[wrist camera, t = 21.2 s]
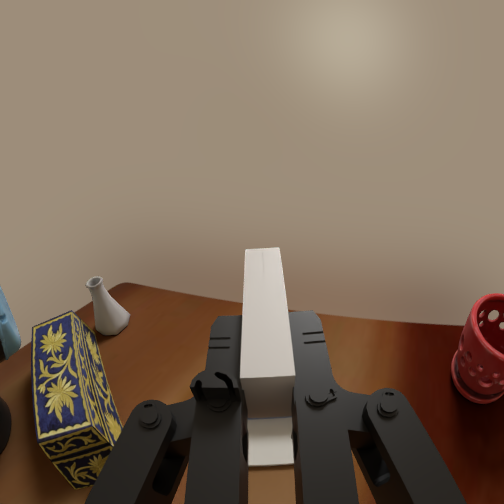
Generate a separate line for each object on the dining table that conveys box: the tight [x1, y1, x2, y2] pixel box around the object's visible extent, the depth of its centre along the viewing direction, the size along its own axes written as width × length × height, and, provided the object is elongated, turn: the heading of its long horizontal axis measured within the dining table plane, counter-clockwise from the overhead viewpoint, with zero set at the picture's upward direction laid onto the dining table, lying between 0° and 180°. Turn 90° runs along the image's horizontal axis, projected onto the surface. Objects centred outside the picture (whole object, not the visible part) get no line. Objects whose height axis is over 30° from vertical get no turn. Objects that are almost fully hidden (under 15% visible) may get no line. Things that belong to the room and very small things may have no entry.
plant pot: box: [451, 294, 504, 404], centre depth 27 cm, size 13×13×12 cm
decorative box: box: [31, 310, 123, 489], centre depth 32 cm, size 11×30×9 cm, turn 33°
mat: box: [247, 417, 294, 466], centre depth 35 cm, size 21×14×1 cm, turn 0°
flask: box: [86, 276, 130, 335], centre depth 47 cm, size 7×7×10 cm
